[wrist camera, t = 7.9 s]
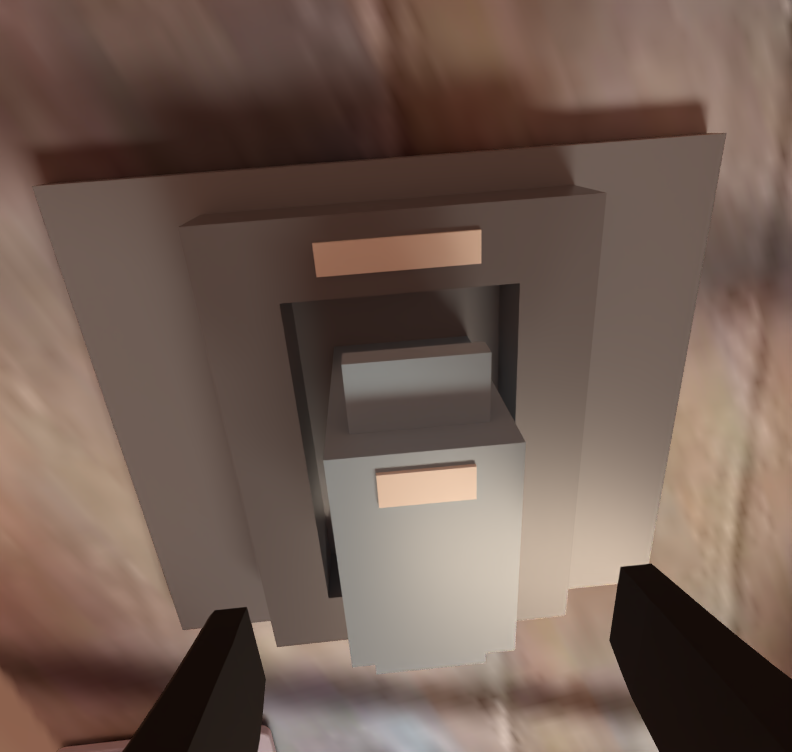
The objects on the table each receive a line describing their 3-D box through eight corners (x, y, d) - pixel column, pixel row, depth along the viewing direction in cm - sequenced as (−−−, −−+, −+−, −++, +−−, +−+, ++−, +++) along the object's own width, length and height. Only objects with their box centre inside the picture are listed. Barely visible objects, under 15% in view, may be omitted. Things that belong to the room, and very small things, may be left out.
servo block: (357, 543, 19) (358, 712, 13) (327, 294, 15) (312, 389, 10) (468, 532, 19) (514, 696, 14) (467, 283, 15) (531, 371, 10)
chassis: (189, 612, 21) (165, 682, 18) (48, 183, 14) (-22, 195, 11) (635, 565, 21) (675, 626, 19) (708, 133, 15) (785, 133, 12)
